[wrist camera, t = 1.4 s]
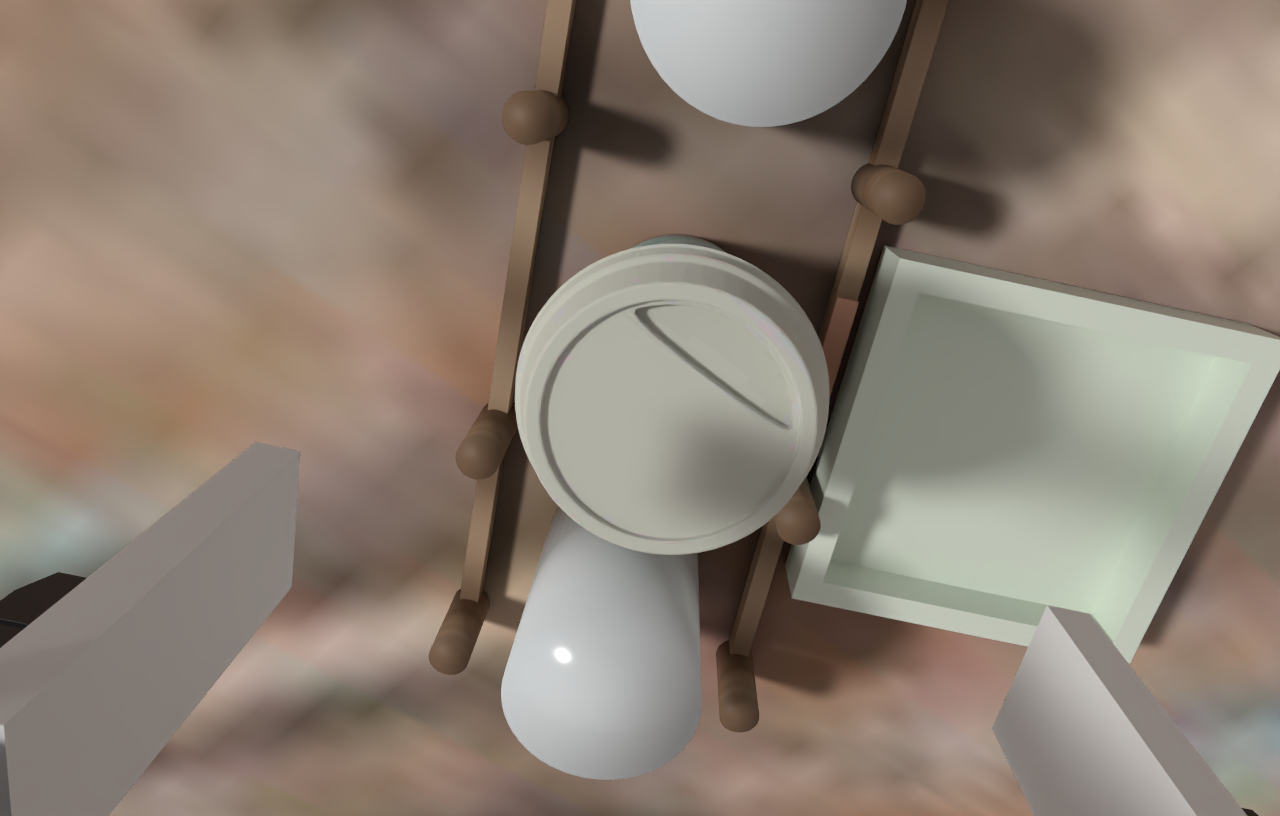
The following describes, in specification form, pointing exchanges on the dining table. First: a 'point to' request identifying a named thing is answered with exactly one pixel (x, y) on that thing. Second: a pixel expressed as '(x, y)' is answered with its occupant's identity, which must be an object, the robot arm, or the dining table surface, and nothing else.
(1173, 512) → the tray
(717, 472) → the coffee cup
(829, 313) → the rack
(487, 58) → the dining table surface
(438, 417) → the dining table surface
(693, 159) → the dining table surface
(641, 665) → the white rounded capsule
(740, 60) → the white rounded block
